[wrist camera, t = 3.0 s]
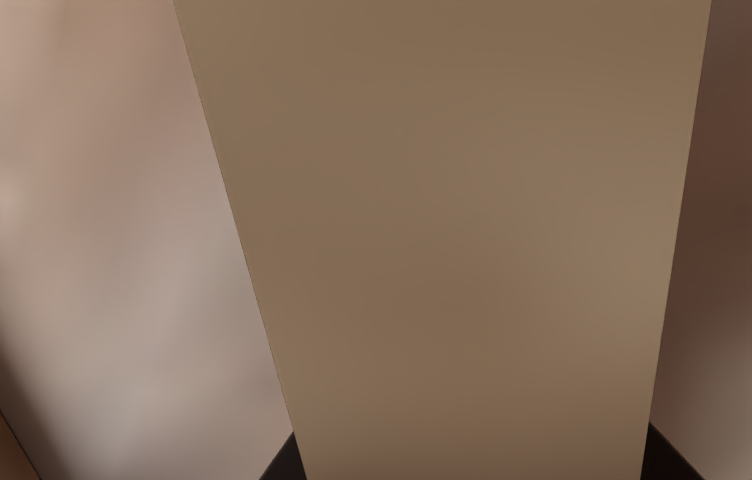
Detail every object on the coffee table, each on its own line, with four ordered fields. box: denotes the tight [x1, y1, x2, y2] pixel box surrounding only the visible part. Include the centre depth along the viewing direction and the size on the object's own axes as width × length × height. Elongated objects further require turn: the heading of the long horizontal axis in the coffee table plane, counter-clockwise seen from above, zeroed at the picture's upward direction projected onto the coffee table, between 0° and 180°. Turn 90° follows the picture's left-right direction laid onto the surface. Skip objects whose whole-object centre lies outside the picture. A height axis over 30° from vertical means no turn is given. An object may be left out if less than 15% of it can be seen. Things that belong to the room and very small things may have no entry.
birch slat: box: [173, 0, 712, 480], centre depth 9 cm, size 16×3×4 cm, turn 7°
